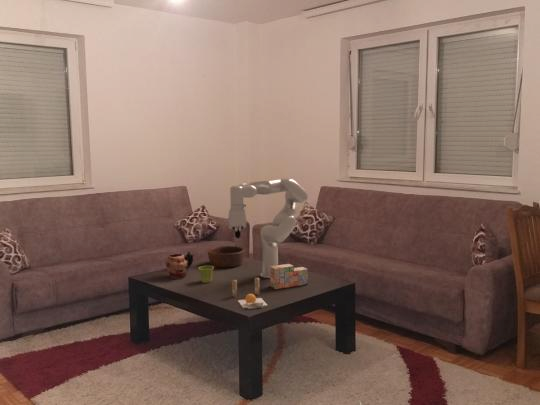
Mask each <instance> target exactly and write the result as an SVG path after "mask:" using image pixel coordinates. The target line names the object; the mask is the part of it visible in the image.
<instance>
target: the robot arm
mask: <svg viewBox="0 0 540 405" xmlns="http://www.w3.org/2000/svg"><path fill="white" fill-rule="evenodd" d="M278 193H285V194H284V196H285V197H284V198H285V199H284V200H285V203H284V205H283V207H282V209H280V211H279V212H277V214H276V215H275V216H274V217H273V220H272V224H273V225H271V224H270V225H269V224H267V225H264V226H263V227H262V228H261V230H260V238H261V245H262V246H261V248H262V253H261V254H262V272H261V273H260V277H261V278H263V279H264V278H265V279H271V277H270V266H277V265H279V247H278V244H281V243H283V242H284V241H285V240H286V239H287V238H288V237H289V236H290V234H291V233H292V232H293V231H294V229H295V228H296V225H297V219H296V217H295V215H296V214H297V209H298V207H297V206H298V205H297V204H303V203H306V202H307V201H308V198H309V195H308V192H307V191H306V189H305V188H303V186H302V185H300V184H299V183H298V182H297V181H295V180H294V179H293V178H284V177H281V178H274V179H268V180H259V181H252V182H245V183H240V184H238V185H231V186H230V189H229V195H230V196H229V197H230V200H229V201H230V208H229V210H228V215H227V216H228V217H227V221H228V222H227V223H228V226H227V227H228V228H229V229H231V230H233V231H234V237H235V238H237V239H240V237H241V231H242V230H243V229H244V228H247V227H248V226H247V216H246V210H245V208H246V207H247V205H246V204H245V203H244V198H246V199H247V198H248V199H251V198H254V197H255V196H257V195H265V196H266V195H273V194H278Z"/></svg>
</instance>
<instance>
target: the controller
mask: <svg viewBox="0 0 540 405" xmlns="http://www.w3.org/2000/svg"><path fill="white" fill-rule="evenodd" d="M183 255H184V254H183ZM184 258H185V260H186V262H187V267H186V268H187V269H188V268H189V267H191V265H193V262H194V255H193V254H191V251H187V254H186V255H184ZM186 268H185V269H186Z"/></svg>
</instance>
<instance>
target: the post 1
mask: <svg viewBox="0 0 540 405" xmlns="http://www.w3.org/2000/svg"><path fill="white" fill-rule="evenodd" d="M231 289H232V290H231V294H232V295H231V296H232V298H237V297H238V281H237V279H232V280H231Z"/></svg>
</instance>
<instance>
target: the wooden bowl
mask: <svg viewBox="0 0 540 405" xmlns="http://www.w3.org/2000/svg"><path fill="white" fill-rule="evenodd" d="M245 251H246V249H245V248H243V247H241V246H236V245H222V246H215V247H211V248H209V249H208V250H207V257H208V261H209V263H210V264H211V266H213V267H214V268H221V269H227V268H231V269H232V268H236V267H238V266H241V265H242V263H243V262H244V259H245V255H246V254H245V253H246V252H245Z"/></svg>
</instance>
